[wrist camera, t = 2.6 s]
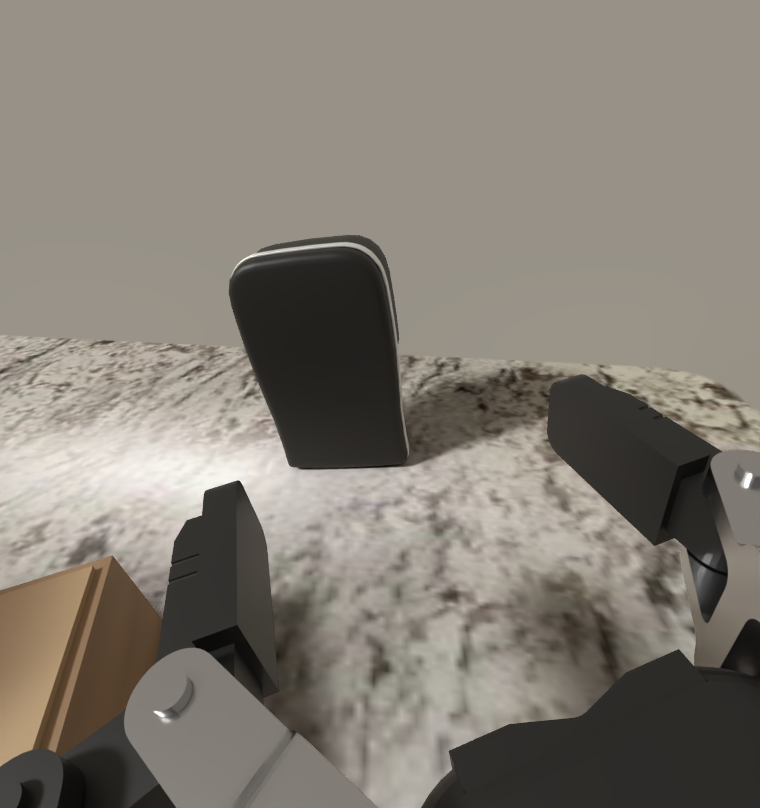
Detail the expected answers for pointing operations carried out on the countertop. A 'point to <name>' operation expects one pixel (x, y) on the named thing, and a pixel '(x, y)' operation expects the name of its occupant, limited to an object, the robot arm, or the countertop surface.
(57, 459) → the countertop surface
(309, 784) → the robot arm
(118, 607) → the wooden box
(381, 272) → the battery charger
